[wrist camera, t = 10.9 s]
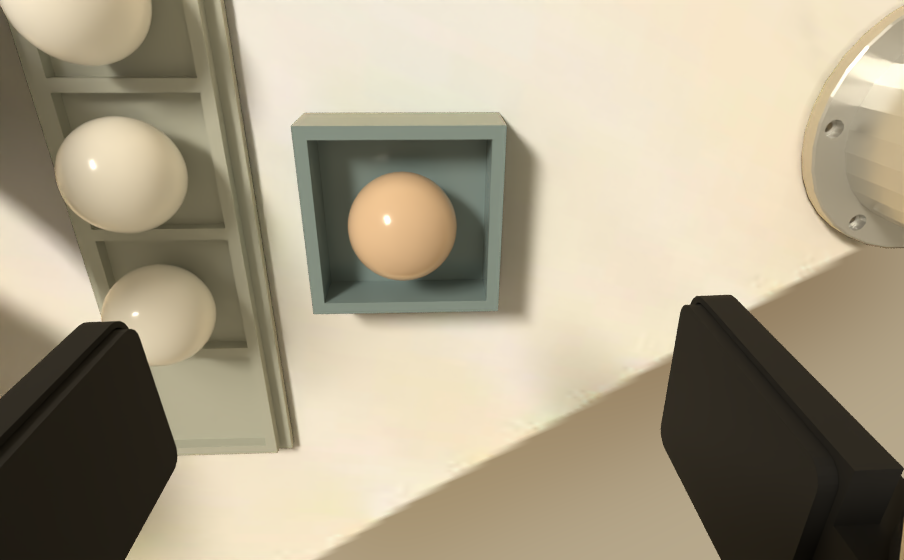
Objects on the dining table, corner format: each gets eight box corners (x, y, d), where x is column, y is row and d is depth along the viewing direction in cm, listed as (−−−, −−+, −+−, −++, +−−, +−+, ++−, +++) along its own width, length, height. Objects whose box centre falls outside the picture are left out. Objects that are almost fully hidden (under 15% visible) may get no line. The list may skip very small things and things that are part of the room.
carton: (205, -120, 22) (194, -125, 21) (293, 442, 36) (289, 456, 35) (-30, -123, 22) (-53, -129, 21) (147, 446, 35) (139, 460, 34)
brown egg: (455, 158, 27) (459, 191, 23) (455, 253, 30) (458, 299, 25) (351, 158, 27) (334, 191, 23) (358, 254, 29) (344, 300, 25)
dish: (498, 112, 27) (506, 125, 24) (491, 283, 31) (497, 310, 28) (304, 112, 27) (290, 126, 24) (323, 286, 31) (313, 314, 28)
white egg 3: (220, 247, 29) (183, 293, 25) (236, 330, 31) (205, 386, 27) (120, 248, 29) (64, 295, 24) (143, 332, 31) (96, 388, 27)
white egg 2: (192, 106, 26) (144, 129, 21) (213, 210, 28) (173, 250, 24) (80, 106, 26) (7, 130, 21) (109, 211, 28) (49, 252, 23)
